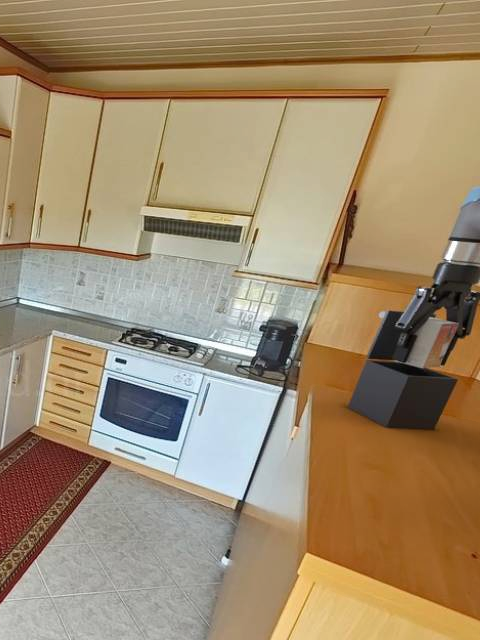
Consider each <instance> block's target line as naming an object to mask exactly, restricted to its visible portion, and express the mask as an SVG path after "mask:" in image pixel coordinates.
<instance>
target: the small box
mask: <svg viewBox="0 0 480 640" xmlns="http://www.w3.org/2000/svg"><path fill="white" fill-rule="evenodd" d="M458 325H459V323H455V322H451V321H447V320H446V319H441V318H437V317H435V318H431V317H430V318H429V319H428V320H427V321H426V322H425V323H424V324H423V325H422V326H421V327H420V328H419V329H418V330H417V332H416V333H415V334H414V335H418V336H417V338H416V341H415V343H414V345H413V347H412V350H411V352H410V354H409V357H408V359H407V361H406V363H404V364H408V365H411V366H415V367H419V368H428V369H430V368H440V367H441V366H442V365H441V362H442V360H443V358H444V356H445V354H446V352H447V350H448V347H449V345H450V343H451V341H452V339H453V337H454V334H455V332H456V330H457V328H458ZM411 328H412V327H411ZM394 362H399V361H396V360H395V361H394ZM400 363H402V362H400Z"/></svg>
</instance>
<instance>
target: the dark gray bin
mask: <svg viewBox="0 0 480 640" xmlns="http://www.w3.org/2000/svg"><path fill="white" fill-rule="evenodd" d="M363 365H364V366H363V367H362V370H361V373H360V375H359V378H358V381H357V382H356V385H355V388H354V390H353V393H352V395H351V398H350V400H349V403H348V405H347V408H348V409H350V410H352V411H354V412H356V413H358V414H360V415H362V416H363V417H366V418H367V419H369V420H372V421H374V422H375V423H378V424H380V425H381V426H383V427H385V428H395V429H418V430H432V431H433V430H435V429H436V426H437V425H438V423H439V420H440V419H441V417H442V415H443V412H444V410H445V408H446V407H447V403H448V402H449V400H450V397H451V395H452V393H453V392H454V389H455V387H456V386H457V383H458V381H459V379H458V378H457V377H456V378H455V377H453V376H450V375H448V374H444V373H441V372H438V371H437V370H434V369H430V368H419V367H415V366H411V365H408V364H404V363H400V362H396V361H390V360H375V359H366V360H365V363H364V364H363Z"/></svg>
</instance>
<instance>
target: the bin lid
mask: <svg viewBox="0 0 480 640" xmlns="http://www.w3.org/2000/svg"><path fill="white" fill-rule="evenodd" d="M404 311H405V310H404ZM404 311H402V310H389V309H387V310H386V311H385V310H384V311H380V312H379V314H378V317H379V319H381V322H380V325H379V327H378V329H377V332H376V334H375V336H374V338H373V340H372V343H371V345H370V348H369V350H368V352H367V354H366V359H367V360H378V361H393V362H396V361H395V360H394V359H393V356H394V354H395V351H396V349H397V347H398V346H397V343H398V340H399V338H400V336H401V333H402V332H401V331H398V329H396V328H395V325H396V323H397V322H398V320H399V319H400V317H401V316H402V314H403V313H404ZM431 318H437V314H436V313H434V314H433V315H432V316H431ZM403 325H405V324H403Z"/></svg>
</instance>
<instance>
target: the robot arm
mask: <svg viewBox="0 0 480 640" xmlns="http://www.w3.org/2000/svg"><path fill="white" fill-rule="evenodd" d="M440 259H441V261H442V262H439V263H437V265H436V267H435V269H434V271H433V274H432V279H433V280H434V281H433V283H432V285H430V286H422V285H418V286H417V287H416V289H415V292H414V295H413V297H412V299H411V300H410V302H409V303H408V304H407V306H406V308H405V309H404V313H403V314H402V316H401V317H400V319H399V320H398V322H397V323H396V325H395V328H396V329H398V331H401V332H402V333H401V336H400V338H399V340H398V343H397V346H398V347H397V349H396V351H395V354H394V356H393V359H394V360H396V361H399V362H402V363H406V361H407V359H408V357H409V354H410V352H411V350H412V347H413V345H414V343H415V341H416V338H417V336H418V335H414V334H415V333H416V332H417V330H418V329H419V328H420V327H421V326H422V325H423V324H424V323H425V322H426V321H427V320H428V319H429V318H430V317H431V316H432V315H433V314H436V312H437V311H440V310H442V308H444V309H445V320H447V321H451V322H455V323H459V325H458V328H457V330H456V332H455V334H454V337H453V339H452V341H451V343H450V345H449V347H448V350H447V352H446V354H445V356H444V358H443V360H442V362H441V365H440V366H443V367H444V366H446V363H447V361H448V359H449V357H450V355H451V353H452V351H453V350H454V349H455V347H456V345H457V342H458V341H459V339H460V340H463V339H465V338H466V337H468V336H470V335H471V333H472V329H473V326H474V321H475V318H476V313H477V309H478V305H479V302H480V291H476V290H472V287H473V285H474V286H475V285H478V284H479V283H480V185H478V186H475V187H473V188H471V189H470V190H469V191H468V194H467V196H466V197H465V199H464V201H463V203H462V205H461V206H460V210H459V213H458V216H457V217H456V220H455V223H454V225H453V228H452V230H451V232H450V235H449V237H448V239H447V242H446V244H445V246H444V249H443V251H442V254H441V256H440ZM403 324H405V325H403ZM411 327H412V328H411ZM394 360H393V361H394ZM396 361H395V362H396Z"/></svg>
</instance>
